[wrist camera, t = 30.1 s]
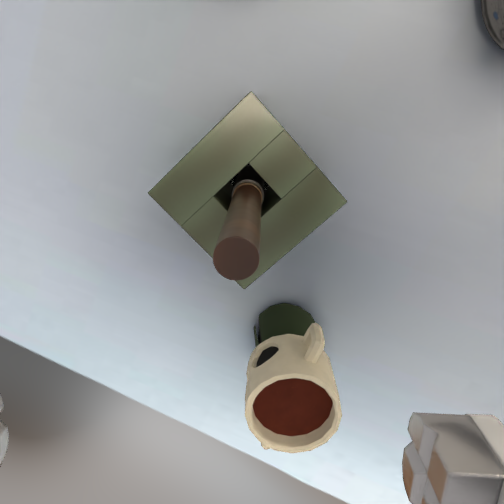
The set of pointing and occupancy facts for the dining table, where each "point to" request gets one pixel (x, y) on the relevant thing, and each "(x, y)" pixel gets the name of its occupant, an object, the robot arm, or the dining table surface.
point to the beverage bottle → (494, 19)
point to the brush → (241, 228)
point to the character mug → (290, 383)
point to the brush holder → (267, 166)
